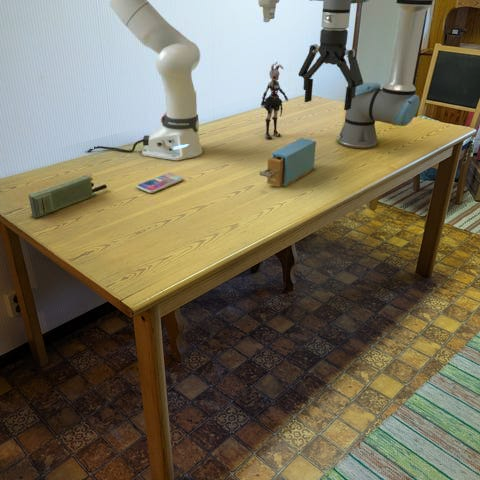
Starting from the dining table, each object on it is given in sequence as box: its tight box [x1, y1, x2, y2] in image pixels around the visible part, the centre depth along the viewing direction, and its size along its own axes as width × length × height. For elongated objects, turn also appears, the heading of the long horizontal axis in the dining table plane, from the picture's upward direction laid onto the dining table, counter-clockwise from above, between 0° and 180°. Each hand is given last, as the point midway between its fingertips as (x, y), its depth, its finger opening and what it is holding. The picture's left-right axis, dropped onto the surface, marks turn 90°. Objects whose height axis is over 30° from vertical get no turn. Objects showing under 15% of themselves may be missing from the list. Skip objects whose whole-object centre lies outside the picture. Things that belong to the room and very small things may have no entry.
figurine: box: [260, 61, 289, 140], centre depth 201 cm, size 15×6×30 cm, turn 132°
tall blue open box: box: [271, 137, 317, 187], centre depth 170 cm, size 19×6×10 cm, turn 144°
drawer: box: [259, 156, 285, 188], centre depth 165 cm, size 23×4×8 cm, turn 144°
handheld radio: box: [28, 173, 108, 219], centre depth 150 cm, size 7×3×25 cm
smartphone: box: [136, 172, 184, 194], centre depth 164 cm, size 7×1×15 cm
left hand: (269, 20), depth 163 cm, fingers open, 8 cm apart
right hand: (327, 105), depth 151 cm, fingers open, 13 cm apart
